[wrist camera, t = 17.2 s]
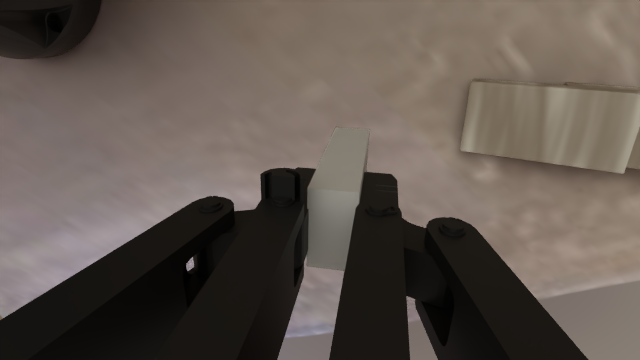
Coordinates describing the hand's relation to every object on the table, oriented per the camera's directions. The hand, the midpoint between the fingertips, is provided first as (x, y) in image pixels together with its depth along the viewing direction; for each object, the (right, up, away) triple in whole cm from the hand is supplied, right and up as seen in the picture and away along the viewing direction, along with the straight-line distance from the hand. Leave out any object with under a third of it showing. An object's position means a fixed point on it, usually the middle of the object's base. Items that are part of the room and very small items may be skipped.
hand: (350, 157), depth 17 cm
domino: (+9, +4, +11) cm, 15 cm away
